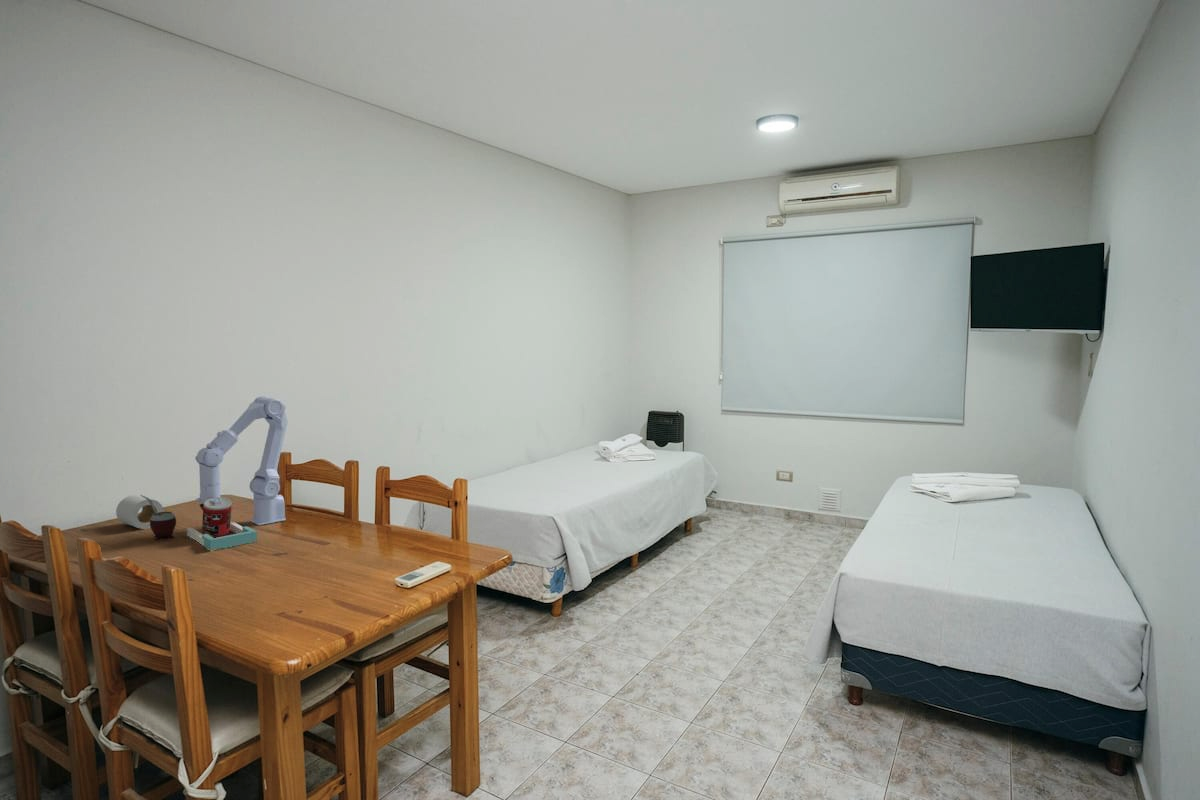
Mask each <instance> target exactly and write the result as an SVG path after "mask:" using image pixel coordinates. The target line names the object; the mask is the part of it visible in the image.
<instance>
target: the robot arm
mask: <svg viewBox="0 0 1200 800" xmlns="http://www.w3.org/2000/svg"><path fill="white" fill-rule="evenodd" d="M259 419H264V420H265V421H266V422H267V423H268V425H269V428H268V430H267V435H266V439H265V443H264V444H265V445H264V449H263V452H262V456H261V457H262V458H261V461H260V464H259V465H260V467H259V468H258V470H256V472H254V476H253V478H252V479H251V480H250V482H249V489H250V491H251V493H253V518H252V519H249V522H251V523H254V524H255V525H257V526H262V525H268V524H272V523H278V522H283V521H286V519H287V518H286V505H285V503H286V502H285V499H284V496H283V495H282V494H279V492H280V490H281V485H280V478H281V477H280V475H279V473H278V466H279V461H280V456H281V452H282V448H283V442H284V440H285V436H286V432H287V431H286V430H287V426H288V419H287V414H286V405H285V404H284V403H283V401H282V400H281V399H279V398H275V397H273V398H272V397H266V396H258V397H256V398H255V399H254V400H253V401H252V402H251V403H249V405H248V407H247V409H246V410H245V411H244V412H243V413H242V414H241V415H240V417H238V419H237V420H236V421H234V423H233V424H232V425H231V427H230V428H229V429H222V431H218V432H217V433H216V437H214V438H213V439H212V441H210V442H209V443H207V444H206V447H204V448H203V447H202V448H201V449H199V450H198V452H197V455H196V456H195V457H194V458H195V461H196V463H198V466H199V469H198V470H199V472H198V473H199V497H197V498H196V502H203V503H200V504H199V507H200V509H201V510H202V511H203V505H204V502H205V501H206V500H208V499H210V498H215V497H222V496H221V476H220V475H221V473H220V464H221V463H222V462H223V460H224V456H225V455H226V454H227V452H228V451H229V450H231V448H232V447H233V446H234V445H236V444H237V443H238V440H239V439H238V436H239V435H240V434H242V432H244V430H246V429H247V428H248V427H249V426H250V425H252V423H253V422H255V420H256V421H257V420H259ZM209 501H210V502H212V503H214V504H215V505H216V504H222V501H221V499H217V500H216V499H214V500H209Z"/></svg>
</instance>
